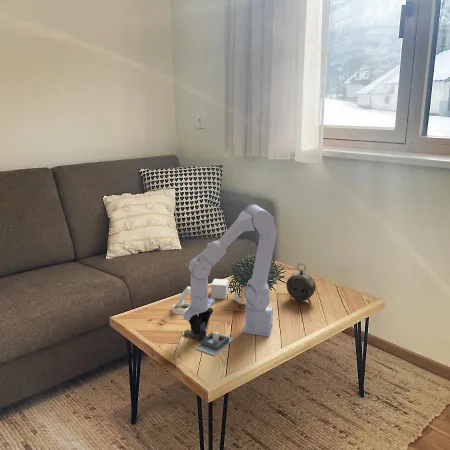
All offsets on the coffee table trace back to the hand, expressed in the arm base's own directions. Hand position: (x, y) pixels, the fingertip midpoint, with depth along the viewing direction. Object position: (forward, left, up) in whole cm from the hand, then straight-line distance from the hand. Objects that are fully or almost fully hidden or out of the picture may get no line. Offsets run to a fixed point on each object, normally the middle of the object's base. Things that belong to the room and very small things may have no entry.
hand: (199, 331), depth 156 cm
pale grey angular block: (-9, -33, -3) cm, 34 cm away
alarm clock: (-30, -37, -3) cm, 48 cm away
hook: (+13, -19, -3) cm, 23 cm away
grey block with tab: (-2, +1, -3) cm, 3 cm away
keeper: (-6, +2, -3) cm, 7 cm away
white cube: (+2, -35, -3) cm, 35 cm away
